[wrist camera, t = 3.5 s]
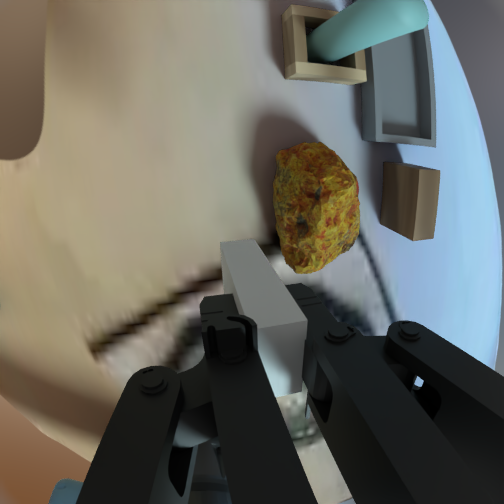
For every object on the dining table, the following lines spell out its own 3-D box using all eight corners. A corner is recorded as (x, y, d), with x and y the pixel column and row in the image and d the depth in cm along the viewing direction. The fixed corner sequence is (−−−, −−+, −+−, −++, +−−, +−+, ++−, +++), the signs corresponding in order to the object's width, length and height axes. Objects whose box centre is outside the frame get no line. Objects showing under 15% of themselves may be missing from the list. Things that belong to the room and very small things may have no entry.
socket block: (284, 79, 25) (296, 73, 22) (281, 15, 23) (291, 4, 20) (350, 85, 26) (366, 81, 24) (346, 25, 24) (360, 17, 21)
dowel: (301, 64, 25) (387, 20, 12) (299, 31, 24) (379, -27, 11) (335, 67, 26) (432, 36, 13) (332, 36, 24) (423, -9, 11)
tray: (362, 140, 29) (375, 141, 26) (352, -2, 23) (364, -9, 20) (421, 145, 30) (435, 147, 28) (412, 17, 24) (425, 13, 22)
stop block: (380, 223, 33) (412, 241, 27) (383, 161, 30) (419, 169, 25) (400, 222, 33) (433, 238, 28) (404, 162, 31) (440, 170, 25)
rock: (332, 182, 34) (370, 259, 30) (265, 208, 35) (295, 289, 31) (331, 115, 24) (390, 211, 20) (239, 147, 25) (280, 253, 21)
